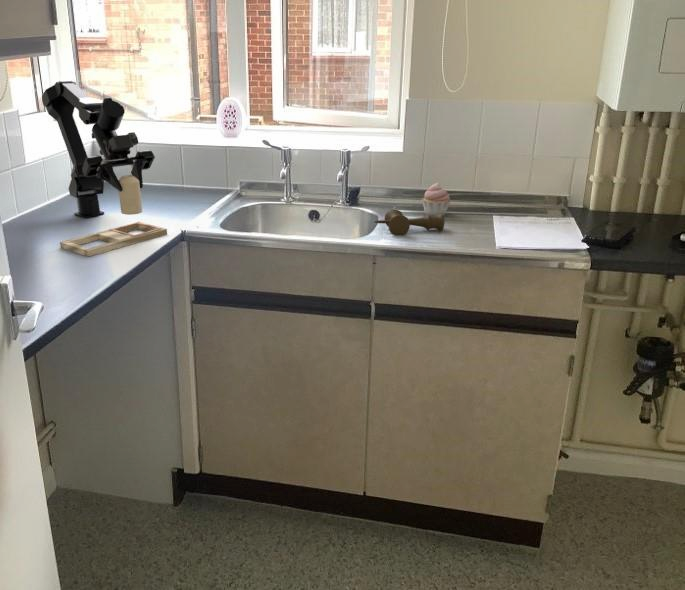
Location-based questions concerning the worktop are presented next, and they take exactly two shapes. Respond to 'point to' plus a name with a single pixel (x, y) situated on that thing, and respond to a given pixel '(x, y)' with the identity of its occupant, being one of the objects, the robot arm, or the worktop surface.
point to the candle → (130, 195)
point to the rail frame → (113, 238)
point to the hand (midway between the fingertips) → (131, 189)
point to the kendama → (410, 222)
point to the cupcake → (436, 200)
